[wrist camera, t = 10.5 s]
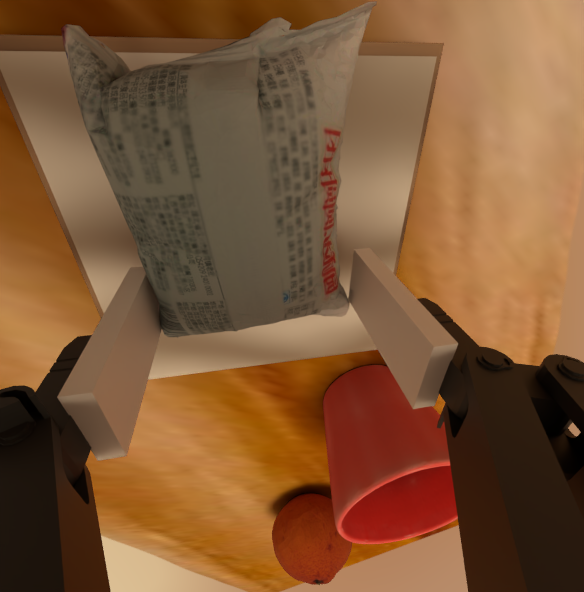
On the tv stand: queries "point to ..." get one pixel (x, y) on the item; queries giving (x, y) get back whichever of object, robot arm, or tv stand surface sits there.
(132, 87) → the packaged food
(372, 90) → the stand
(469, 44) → the tv stand surface
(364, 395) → the flower pot
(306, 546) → the fruit
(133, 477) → the tv stand surface
